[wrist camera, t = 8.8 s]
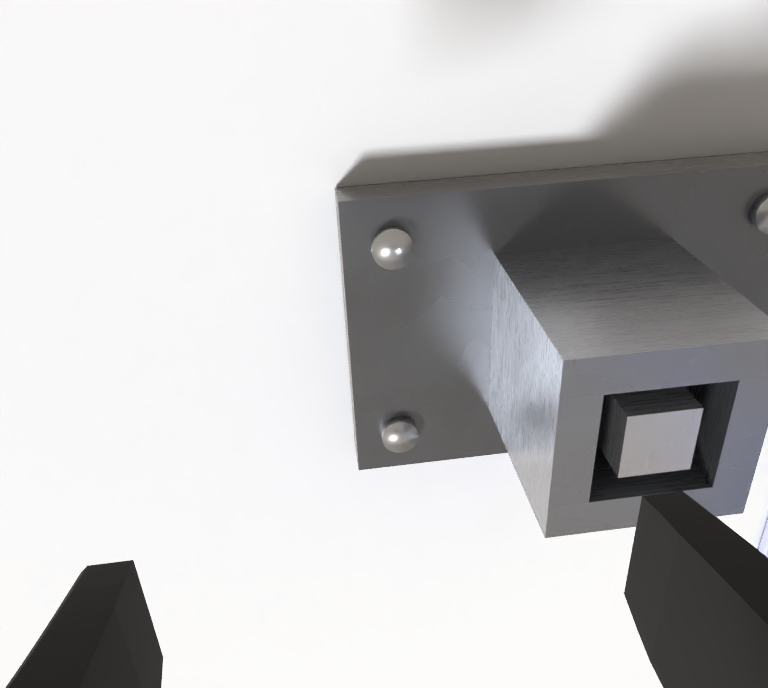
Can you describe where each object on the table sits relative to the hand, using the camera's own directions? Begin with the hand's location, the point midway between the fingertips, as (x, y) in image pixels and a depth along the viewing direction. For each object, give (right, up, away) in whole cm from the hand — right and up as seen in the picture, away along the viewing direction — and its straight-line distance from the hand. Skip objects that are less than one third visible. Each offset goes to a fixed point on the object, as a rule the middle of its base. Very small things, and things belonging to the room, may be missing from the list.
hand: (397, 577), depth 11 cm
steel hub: (+5, +4, +9) cm, 11 cm away
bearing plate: (+5, +4, +10) cm, 12 cm away
